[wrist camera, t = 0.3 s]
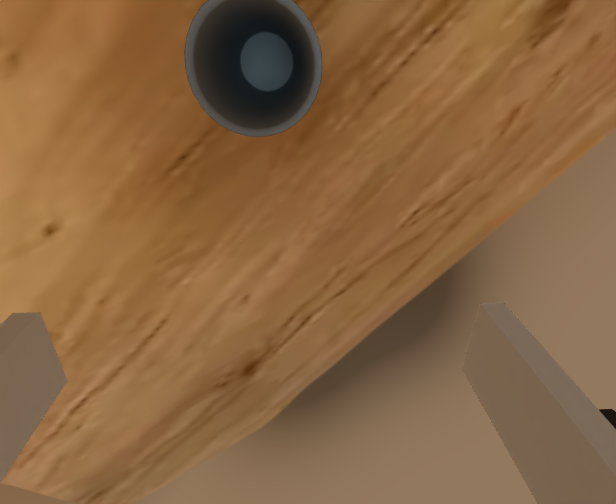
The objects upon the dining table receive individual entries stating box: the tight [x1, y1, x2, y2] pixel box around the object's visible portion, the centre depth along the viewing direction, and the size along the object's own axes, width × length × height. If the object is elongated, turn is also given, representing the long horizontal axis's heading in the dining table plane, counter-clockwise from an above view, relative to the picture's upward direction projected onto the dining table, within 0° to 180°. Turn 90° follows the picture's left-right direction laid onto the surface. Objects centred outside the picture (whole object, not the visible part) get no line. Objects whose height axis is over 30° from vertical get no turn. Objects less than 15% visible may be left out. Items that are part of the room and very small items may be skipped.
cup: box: [185, 0, 322, 137], centre depth 25 cm, size 7×7×15 cm
